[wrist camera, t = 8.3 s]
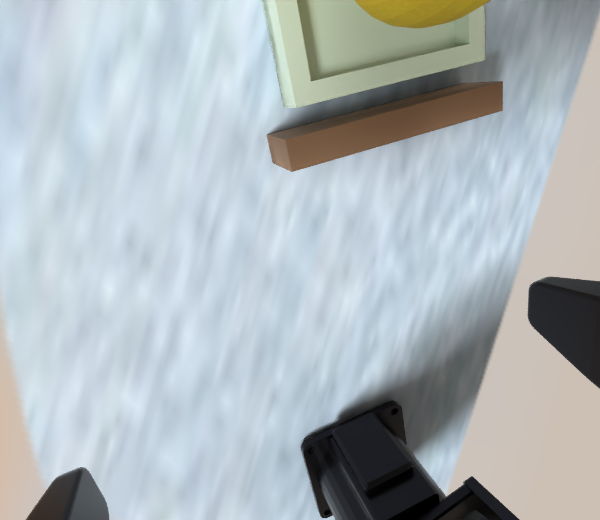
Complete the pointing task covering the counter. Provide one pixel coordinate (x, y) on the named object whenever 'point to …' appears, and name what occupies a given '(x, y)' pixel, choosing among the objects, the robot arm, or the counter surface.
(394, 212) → the counter surface
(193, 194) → the counter surface
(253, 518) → the counter surface
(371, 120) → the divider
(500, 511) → the robot arm
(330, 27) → the dish
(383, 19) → the lemon
